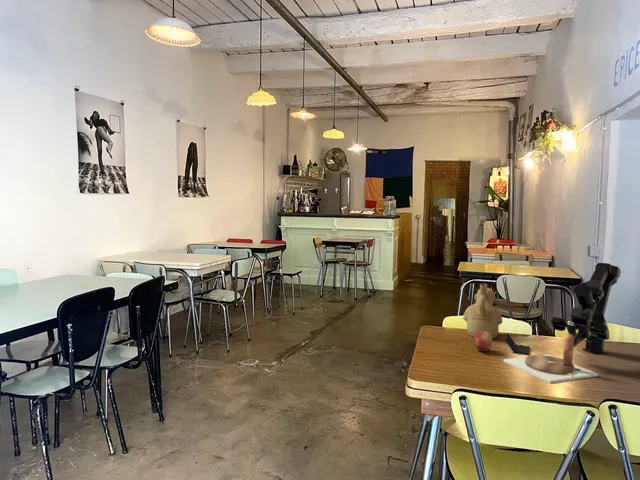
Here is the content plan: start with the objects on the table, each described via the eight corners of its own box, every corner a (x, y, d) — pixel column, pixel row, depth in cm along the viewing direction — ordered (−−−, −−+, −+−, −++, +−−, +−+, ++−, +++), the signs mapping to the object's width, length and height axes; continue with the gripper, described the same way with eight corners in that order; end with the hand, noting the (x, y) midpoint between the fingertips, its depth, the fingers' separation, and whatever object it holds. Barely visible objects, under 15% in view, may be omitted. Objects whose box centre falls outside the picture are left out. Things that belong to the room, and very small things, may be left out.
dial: (526, 369, 163) (528, 336, 162) (524, 355, 178) (525, 325, 177) (577, 376, 158) (579, 341, 157) (570, 361, 172) (572, 330, 172)
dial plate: (547, 356, 182) (547, 352, 182) (597, 375, 161) (598, 372, 161) (503, 361, 175) (503, 358, 174) (549, 383, 154) (550, 379, 154)
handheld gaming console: (534, 352, 182) (518, 330, 184) (518, 361, 183) (503, 340, 186) (530, 347, 193) (515, 327, 195) (515, 356, 194) (501, 336, 197)
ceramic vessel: (502, 332, 215) (505, 280, 213) (500, 343, 198) (503, 286, 196) (465, 327, 222) (467, 276, 220) (459, 338, 205) (461, 282, 203)
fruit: (486, 355, 182) (487, 335, 181) (469, 350, 187) (469, 331, 187) (496, 351, 187) (497, 332, 186) (478, 346, 193) (479, 328, 192)
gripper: (554, 295, 177) (541, 328, 171) (609, 303, 164) (597, 339, 157) (560, 312, 183) (548, 345, 177) (613, 322, 170) (602, 357, 163)
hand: (572, 346), depth 168 cm, fingers closed
